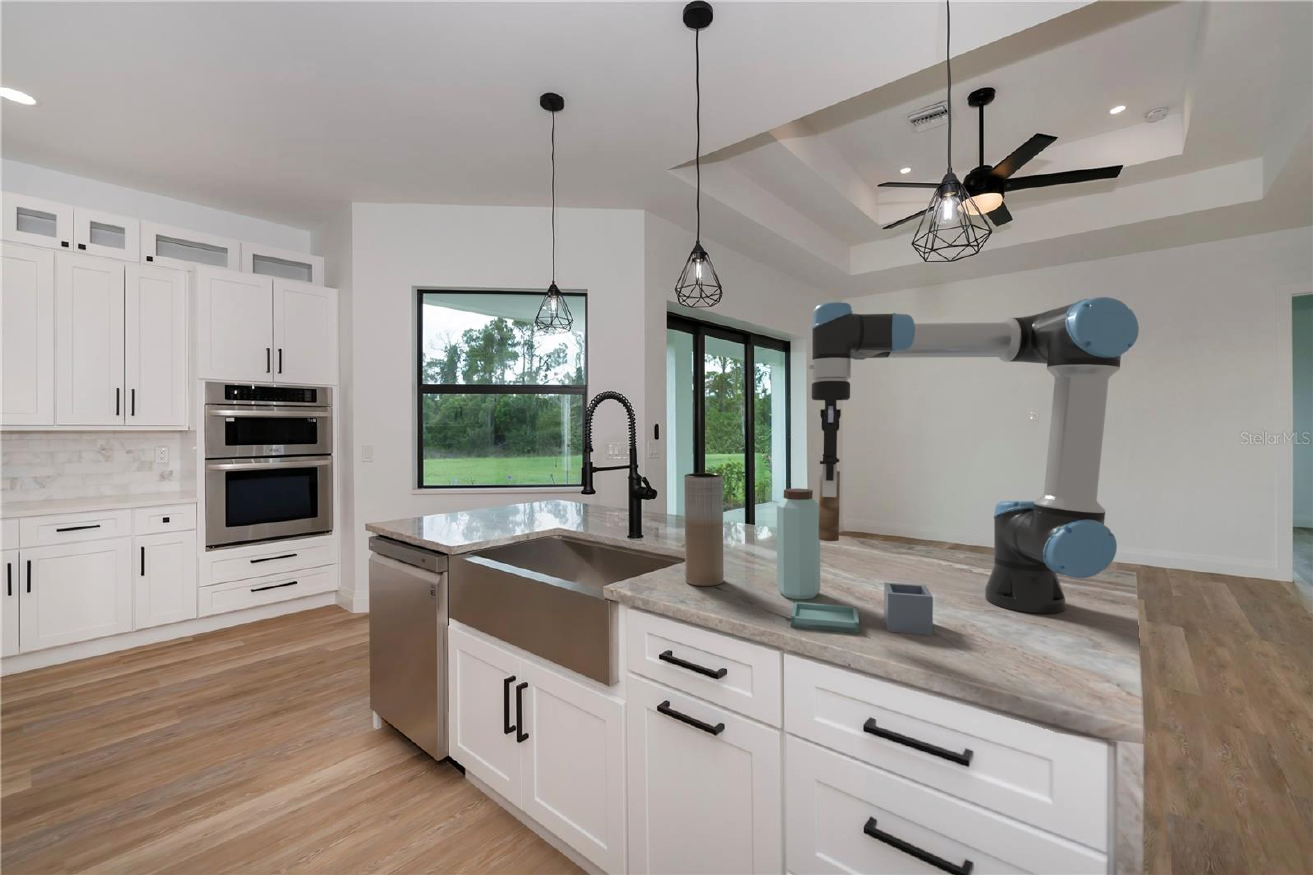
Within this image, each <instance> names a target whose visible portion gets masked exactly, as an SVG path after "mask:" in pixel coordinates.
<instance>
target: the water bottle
mask: <svg viewBox="0 0 1313 875" xmlns="http://www.w3.org/2000/svg"><path fill="white" fill-rule="evenodd" d="M813 493H814V491H813V489H809V488H798V487H797V488H796V487H795V488H786V489H784V490H783V497H782V499H781V500H780V501H779V502H778V504H777V505H776V569H777V570H776V581H777V584H776V587H777V590H778V591H779V593H780V594H781V595H783V596H784V597H785V598H789V599H795V600H800V601H801V600H811V599H814V598H815V597H816V596H817V595H818V594H819V593H820V591H821V540H820V539H819V503H817V502H816V500H815V499H814V498H813Z"/></svg>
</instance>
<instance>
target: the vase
mask: <svg viewBox="0 0 1313 875" xmlns="http://www.w3.org/2000/svg"><path fill="white" fill-rule="evenodd" d="M683 478H684V480H683V482H684V483H683V484H684V562H685V564H684V565H685V567H684V570H685V572H684V573H685V574H684V575H685V582H686V583H687V584H689V585H692V586H697V587H714V586H718V585H721V584H723V583H724V572H725V571H724V565H725V564H724V475H723V474H721V473H716V472H715V473H714V472H695V473H693V472H692V473H687V474H684V477H683Z"/></svg>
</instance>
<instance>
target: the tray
mask: <svg viewBox="0 0 1313 875" xmlns="http://www.w3.org/2000/svg"><path fill="white" fill-rule="evenodd" d="M859 620H860V619H859V614H858V608H857V606H849V605H838V604H825V603H812V602H802V601H801V602H800V601H799V602H798V601H793V605H792V609H791V615H790V627H791V628H796V629H807V630H818V631H821V630H822V631H829V632H830V631H831V632H841V633H850V634H860V621H859Z"/></svg>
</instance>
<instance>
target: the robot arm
mask: <svg viewBox="0 0 1313 875" xmlns="http://www.w3.org/2000/svg"><path fill="white" fill-rule="evenodd" d="M812 316H813V317H812V327H811V330H812V336H811V338H812V342H811V343H812V344H811V345H812V363H811V364H809V366H808V369H809V370H811V372H812V373H811V375H812V376H811V378H812V380H815V381H812V383H811V399H812V400H813V401H824V409H823V408H822V409H820V411H819V412H820V413H819V414H820V417H819V418H821V419H820V420H821V431H822V432H823V454H822V460H819V465H822V470H823V485H822V497H836V491H837V471H838V463H840V458H838V457H837V456H838V455H837V454H838V453H837V452H838V450H837V448H838V431H839V430H840V418H841V417H842V412H841V411H842V410H841V409H840V408H839V409H838V408H837V402H838V401H848V400H850V398H851V383H850V381H848V380H849V379H851V377H852V374H851V373H852V369H851V368H852V360H858V361H859V360H860V361H862V360H865V359H883V358H884V359H885V358H886V359H887V358H888V359H889V358H894V359H895V358H896V359H898V358H900V359H901V358H999V359H1000V360H1001V361H1002V362H1007V363H1008V362H1010V363H1011V362H1014V363H1015V362H1016V363H1017V362H1018V363H1030V364H1031V363H1033V364H1034V363H1035V364H1045V365H1046V370H1047V371H1048V372H1049V373H1050V374H1051V375H1052V376H1053V377H1054V383H1053V385H1054V386H1053V393H1052V395H1053V396H1052V405H1051V416H1050V427H1049V436H1048V437H1049V438H1048V447H1047V454H1046V455H1047V456H1046V465H1045V466H1046V468H1045V479H1044V488H1043V494H1042V496H1040V497H1038V498H1037V499H1036V500H1034V501H1033V500H1032V501H1031V500H1020V501H1019V500H1007V501H1006V500H1005V501H1004V500H1003V501H999V502H997V503H996V505H995V508H994V515H993V519H994V524H993V525H994V526H993V527H994V541H993V542H994V548H993V549H994V555H993V556H994V558H993V559H994V561H993V563H994V565H993V568H992V570H991V573H990V576H989V577H988V581H987V583H986V585H985V588H984V590H985V592H984V593H985V595H984V596H985V597H984V598H985V600H987V601H988V602H990V603H991V604H993V605H994V606H995V605H996V606H999V607H1000V608H1005V609H1008V610H1011V611H1012V610H1013V611H1018V612H1024V613H1033V614H1057V613H1061V612H1064V611H1065V610H1066V597H1065V593H1064V592H1063V588H1062V584H1061V582H1060V580H1059V578H1058V575H1062V576H1067V577H1071V578H1075V579H1085V578H1091V577H1094V576H1097V575H1098V574H1100V572H1101V573H1102V571H1104V570H1107V568H1109V566H1111V564H1112V562H1113V561H1114V559H1115V557H1116V554H1117V548H1118V546H1117V545H1118V544H1117V540H1116V536H1115V535H1114V533H1112V532H1111V529H1110V528H1109V527H1108V526H1106V525H1105V518H1106V510H1105V508H1103V506H1102V505H1101V504H1100V503H1099V501H1098V491H1099V480H1100V472H1101V471H1100V470H1101V469H1100V468H1101V460H1102V450H1103V438H1104V430H1105V419H1106V409H1107V400H1108V399H1107V398H1108V389H1109V388H1108V387H1109V379H1111V377H1112V376H1113V375H1114V374H1116V373H1117V372H1118V371H1120V368H1121V358H1122V355H1123V354H1125V353H1126V352H1128V351H1129V350H1130V348H1132V347H1133V346H1134V345H1135V343H1137V342H1136V341H1137V340H1138V337H1139V333H1140V327H1139V322H1138V318H1137V317H1136V314H1135V313H1134V312H1133V310H1132V309H1131V308H1129V307H1128V306H1127V304H1126V303H1124V302H1122V301H1121V300H1119V299H1116V298H1113V297H1107V296H1101V297H1100V296H1099V297H1094V298H1093V297H1091V298H1084V299H1081V300H1078V301H1076V302H1074V303H1071V304H1068V305H1064V306H1060V307H1057V308H1054V309H1051V310H1047V311H1043V312H1041V313H1036V314H1033V315H1027V316H1023V317H1022V316H1021V317H1020V316H1019V317H1008V318H1005V319H1004V320H1002V321H1001V322H948V323H947V322H942V323H937V322H935V323H929V322H928V323H927V322H926V323H915V321H914V318H913V317H912V316H911V315H910V314H907V313H895V312H893V313H864V314H863V313H853V310H852V306H851V304H850V303H847V302H841V301H836V302H834V301H832V302H825V303H824V302H823V303H821V304H818V305H817V306H815V308H814V309H813V315H812ZM1057 574H1058V575H1057Z"/></svg>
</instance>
